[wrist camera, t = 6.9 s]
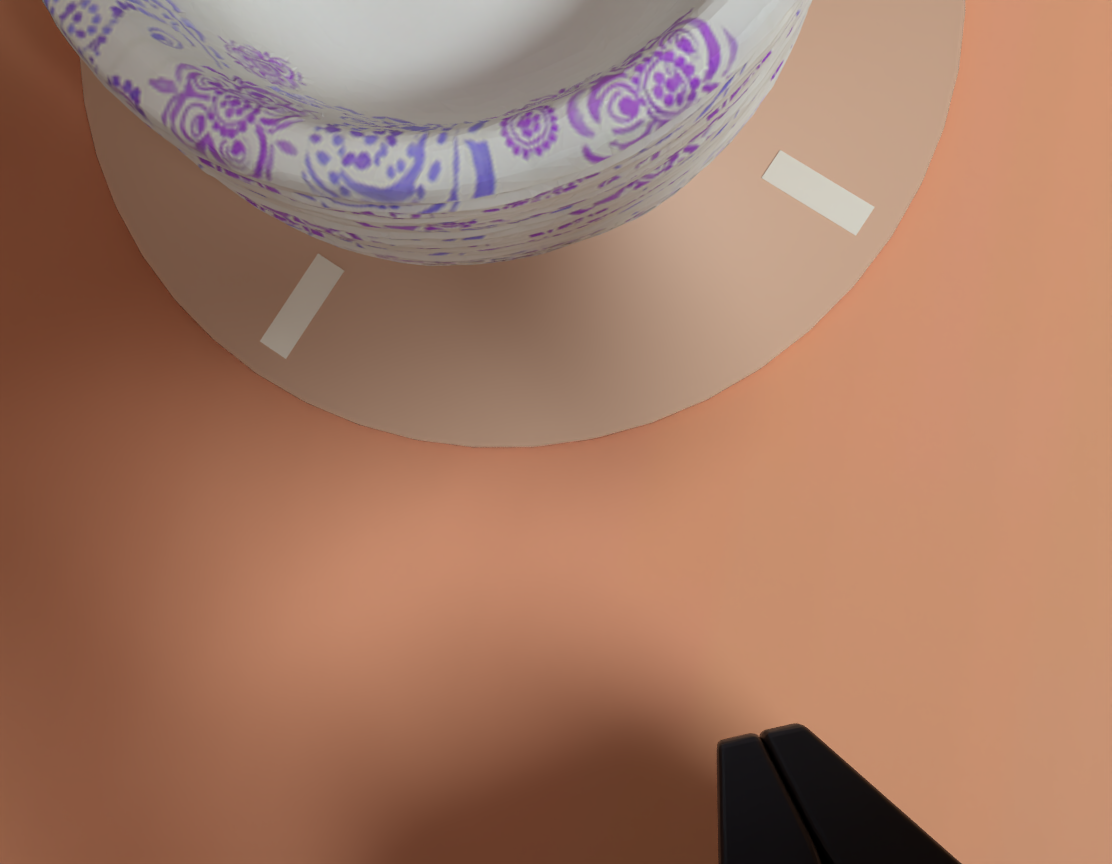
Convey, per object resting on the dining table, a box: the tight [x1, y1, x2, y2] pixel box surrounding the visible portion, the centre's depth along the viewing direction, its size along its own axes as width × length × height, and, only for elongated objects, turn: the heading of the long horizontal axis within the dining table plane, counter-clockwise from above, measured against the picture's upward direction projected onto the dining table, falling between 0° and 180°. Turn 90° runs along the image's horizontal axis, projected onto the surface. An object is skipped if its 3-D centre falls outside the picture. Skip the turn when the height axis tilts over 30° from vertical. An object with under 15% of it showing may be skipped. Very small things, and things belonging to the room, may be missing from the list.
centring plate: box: [80, 0, 965, 447], centre depth 23 cm, size 22×22×1 cm
